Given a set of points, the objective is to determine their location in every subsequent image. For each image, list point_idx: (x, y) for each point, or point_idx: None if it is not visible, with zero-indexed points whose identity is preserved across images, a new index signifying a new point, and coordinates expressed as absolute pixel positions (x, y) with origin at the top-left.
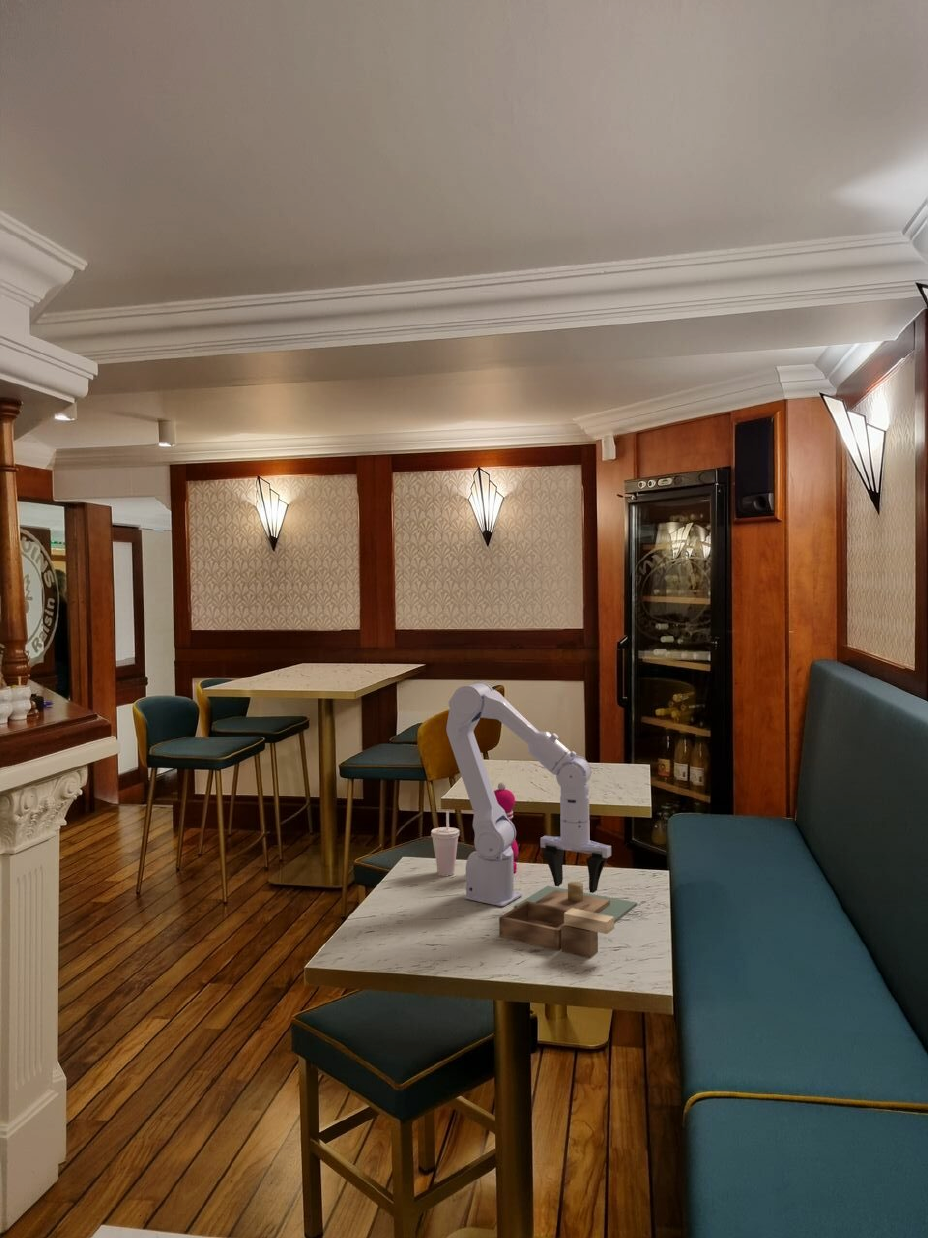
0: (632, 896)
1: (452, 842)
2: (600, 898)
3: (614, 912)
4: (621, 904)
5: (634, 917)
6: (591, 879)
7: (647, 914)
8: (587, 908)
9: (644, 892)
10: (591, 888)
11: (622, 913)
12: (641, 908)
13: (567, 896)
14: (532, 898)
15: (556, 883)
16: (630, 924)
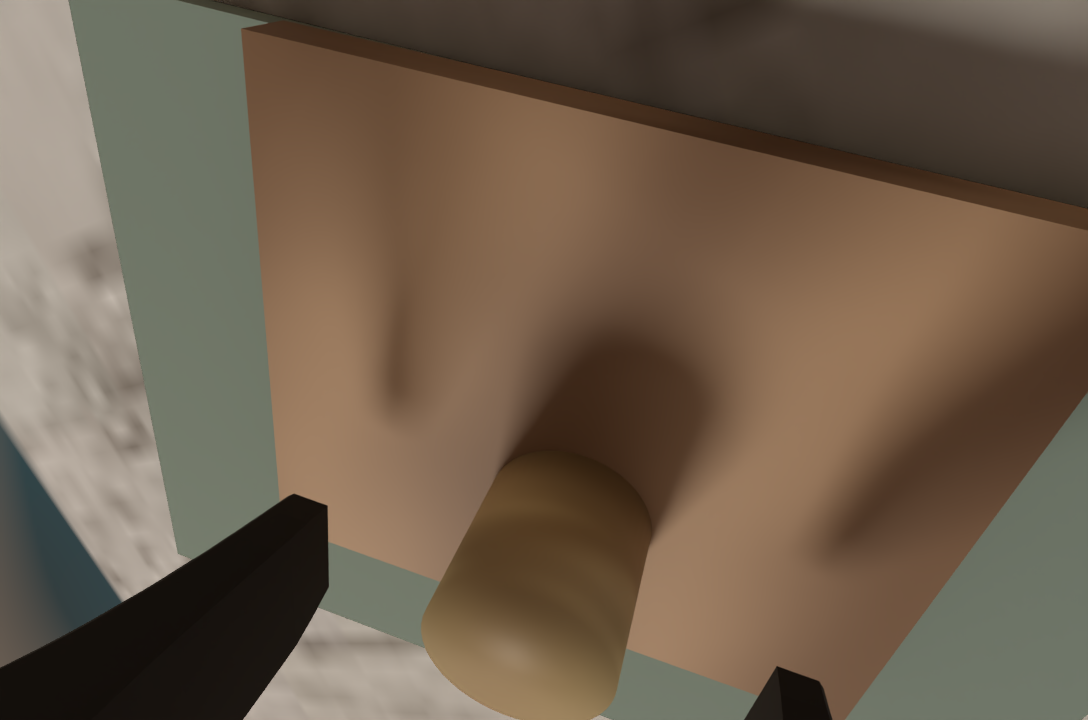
0: (290, 667)
1: None
2: (363, 553)
3: (200, 349)
4: (243, 516)
5: (82, 325)
6: (146, 614)
7: (54, 399)
8: (357, 287)
9: (263, 714)
10: (258, 526)
11: (139, 339)
12: (144, 495)
13: (671, 581)
14: None
15: (790, 703)
16: (13, 159)
